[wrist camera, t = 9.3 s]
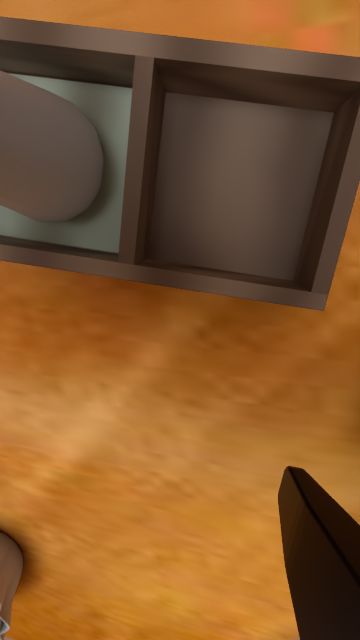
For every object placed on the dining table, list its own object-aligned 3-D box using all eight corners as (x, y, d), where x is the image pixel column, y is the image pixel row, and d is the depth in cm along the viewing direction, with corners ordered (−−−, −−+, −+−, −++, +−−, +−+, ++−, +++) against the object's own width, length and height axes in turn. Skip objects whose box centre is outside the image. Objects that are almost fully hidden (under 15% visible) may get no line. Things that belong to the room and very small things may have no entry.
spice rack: (346, 104, 17) (392, 61, 13) (299, 293, 20) (323, 311, 15) (-166, 41, 18) (-281, -16, 14) (-141, 225, 21) (-231, 224, 17)
